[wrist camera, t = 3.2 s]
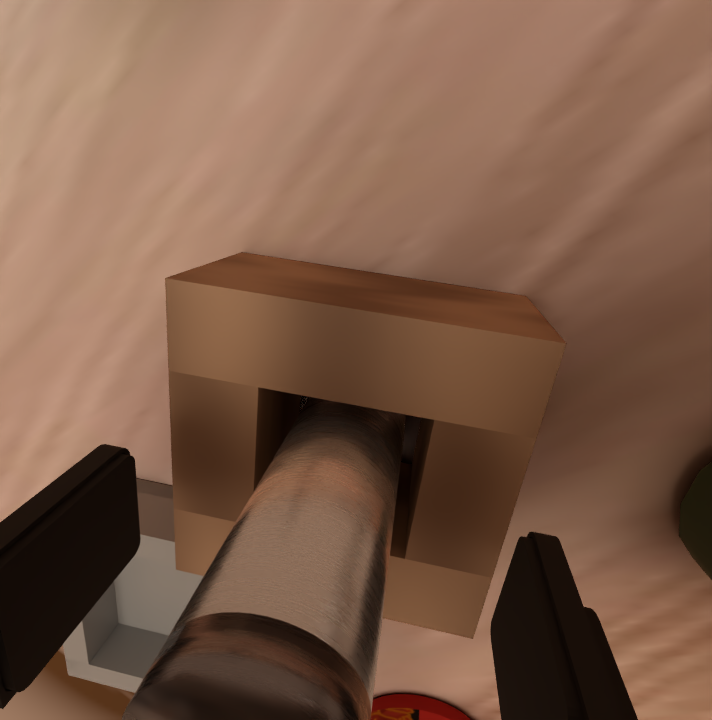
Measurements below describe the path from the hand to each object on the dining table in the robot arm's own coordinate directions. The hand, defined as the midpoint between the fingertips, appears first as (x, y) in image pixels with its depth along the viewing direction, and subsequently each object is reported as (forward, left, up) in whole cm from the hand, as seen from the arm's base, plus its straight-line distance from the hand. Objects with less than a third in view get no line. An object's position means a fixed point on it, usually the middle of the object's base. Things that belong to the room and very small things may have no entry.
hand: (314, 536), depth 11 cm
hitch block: (0, 0, -7) cm, 7 cm away
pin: (0, 0, -7) cm, 7 cm away
